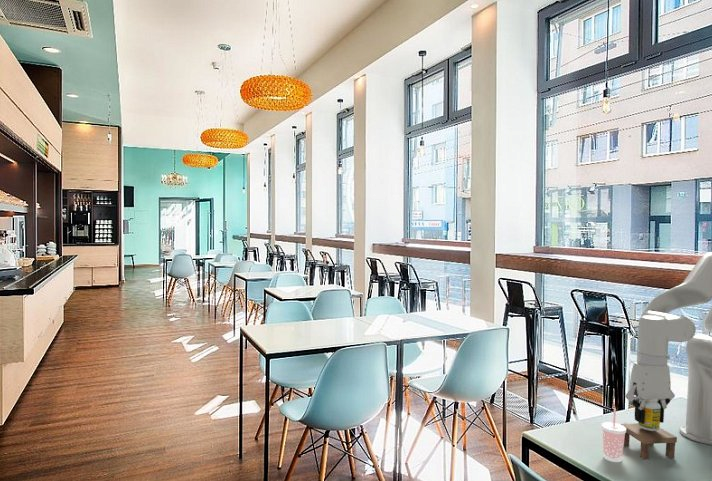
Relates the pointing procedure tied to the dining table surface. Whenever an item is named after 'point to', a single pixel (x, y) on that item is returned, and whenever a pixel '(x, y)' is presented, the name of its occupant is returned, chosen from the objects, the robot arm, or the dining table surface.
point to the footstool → (650, 439)
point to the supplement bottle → (651, 415)
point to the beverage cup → (613, 440)
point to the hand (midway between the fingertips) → (648, 420)
